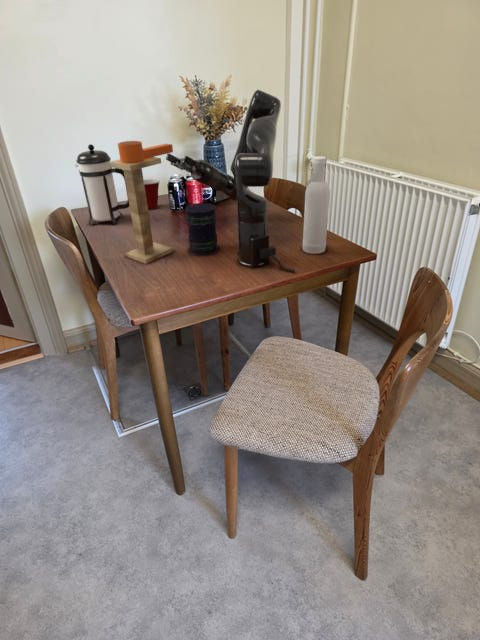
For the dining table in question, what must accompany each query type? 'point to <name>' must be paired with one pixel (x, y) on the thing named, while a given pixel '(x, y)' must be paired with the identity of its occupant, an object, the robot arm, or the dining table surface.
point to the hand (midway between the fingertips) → (175, 157)
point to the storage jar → (201, 228)
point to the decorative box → (219, 196)
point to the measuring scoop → (140, 151)
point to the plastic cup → (151, 192)
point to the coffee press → (99, 185)
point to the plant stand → (140, 211)
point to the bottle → (316, 210)
